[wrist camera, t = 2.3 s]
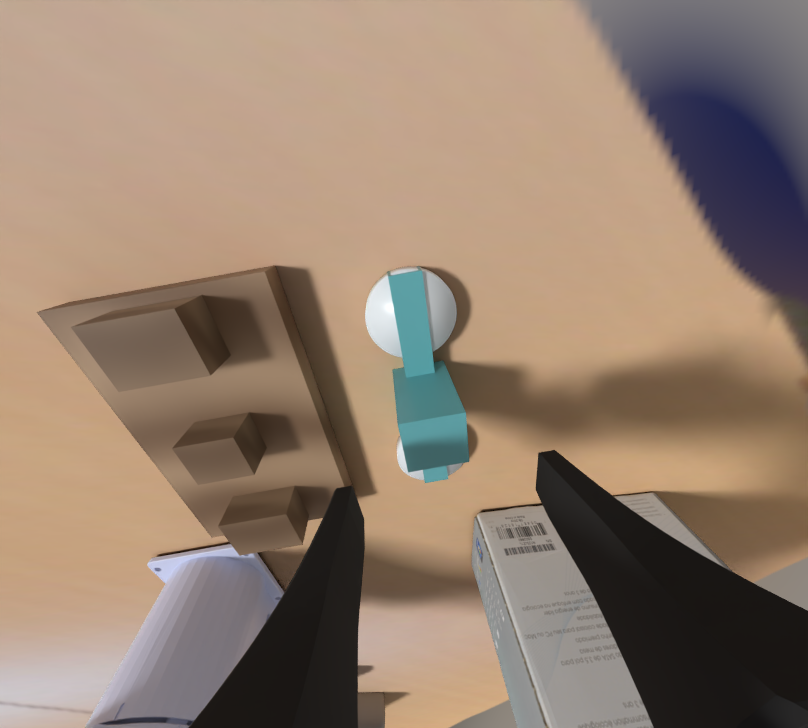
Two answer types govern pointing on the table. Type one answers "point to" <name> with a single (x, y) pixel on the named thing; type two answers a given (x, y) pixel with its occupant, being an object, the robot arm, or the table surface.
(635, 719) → the hard drive box
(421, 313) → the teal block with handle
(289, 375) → the display stand
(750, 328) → the table surface
